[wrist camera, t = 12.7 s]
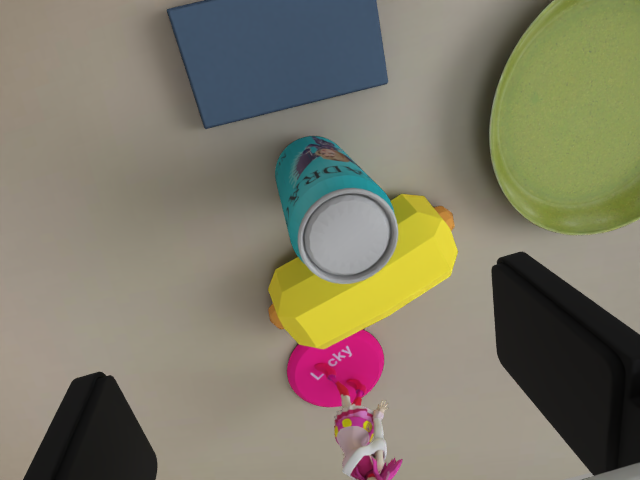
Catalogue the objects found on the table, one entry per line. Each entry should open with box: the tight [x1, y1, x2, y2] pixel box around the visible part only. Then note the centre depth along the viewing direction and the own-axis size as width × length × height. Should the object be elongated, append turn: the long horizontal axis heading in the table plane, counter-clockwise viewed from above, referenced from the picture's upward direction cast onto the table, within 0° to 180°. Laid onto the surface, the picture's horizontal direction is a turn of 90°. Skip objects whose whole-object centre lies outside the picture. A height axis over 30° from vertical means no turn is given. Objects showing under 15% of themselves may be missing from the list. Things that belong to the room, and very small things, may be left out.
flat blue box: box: [167, 0, 388, 129], centre depth 32 cm, size 8×14×2 cm, turn 103°
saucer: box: [489, 0, 640, 235], centre depth 36 cm, size 21×21×3 cm
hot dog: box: [268, 194, 458, 349], centre depth 37 cm, size 18×7×8 cm
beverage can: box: [275, 136, 398, 284], centre depth 29 cm, size 6×6×15 cm
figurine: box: [287, 329, 402, 480], centre depth 37 cm, size 10×10×15 cm
